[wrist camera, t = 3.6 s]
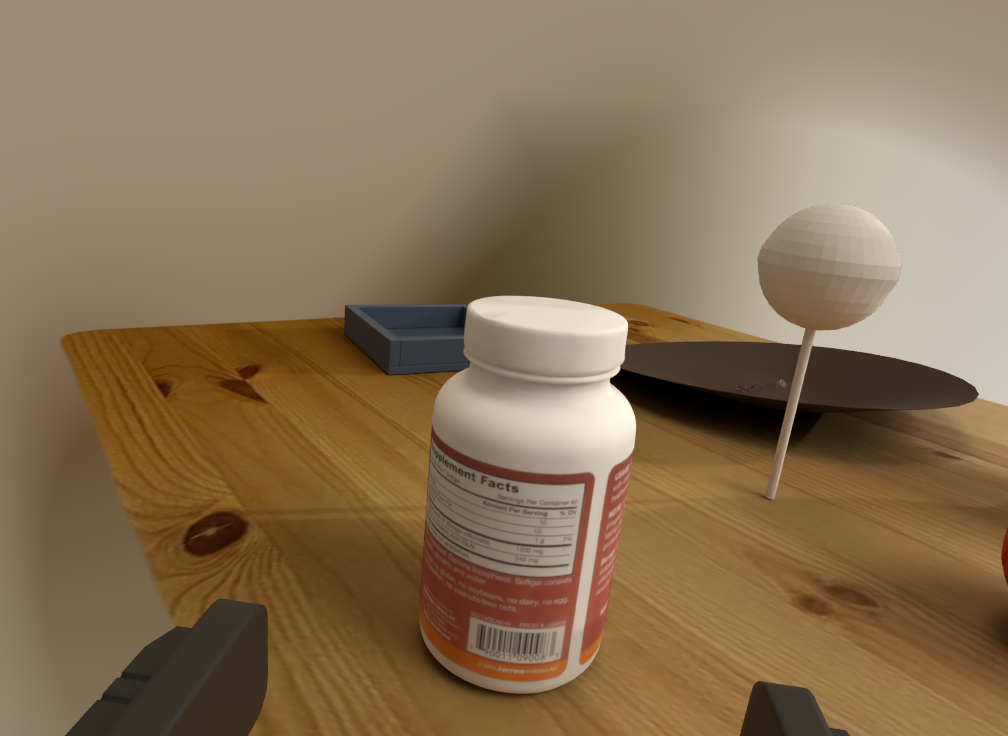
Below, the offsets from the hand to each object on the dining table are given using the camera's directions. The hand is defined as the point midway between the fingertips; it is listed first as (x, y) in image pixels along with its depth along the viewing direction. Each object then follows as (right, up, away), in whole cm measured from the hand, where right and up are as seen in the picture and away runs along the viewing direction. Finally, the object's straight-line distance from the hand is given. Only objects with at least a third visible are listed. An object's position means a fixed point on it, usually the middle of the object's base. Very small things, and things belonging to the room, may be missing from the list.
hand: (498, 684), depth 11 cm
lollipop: (+14, -2, +23) cm, 27 cm away
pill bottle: (0, -4, +11) cm, 12 cm away
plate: (+21, +3, +43) cm, 48 cm away
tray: (-6, +7, +44) cm, 45 cm away
